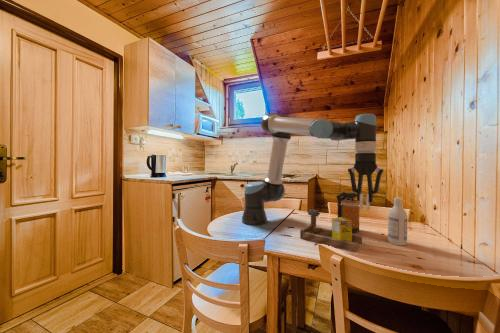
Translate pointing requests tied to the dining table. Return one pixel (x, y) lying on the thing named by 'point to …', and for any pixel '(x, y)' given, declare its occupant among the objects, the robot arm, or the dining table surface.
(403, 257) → the dining table surface
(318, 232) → the bay
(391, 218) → the bath foam
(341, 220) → the supplement box
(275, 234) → the dining table surface
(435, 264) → the dining table surface
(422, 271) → the dining table surface
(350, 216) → the canister
